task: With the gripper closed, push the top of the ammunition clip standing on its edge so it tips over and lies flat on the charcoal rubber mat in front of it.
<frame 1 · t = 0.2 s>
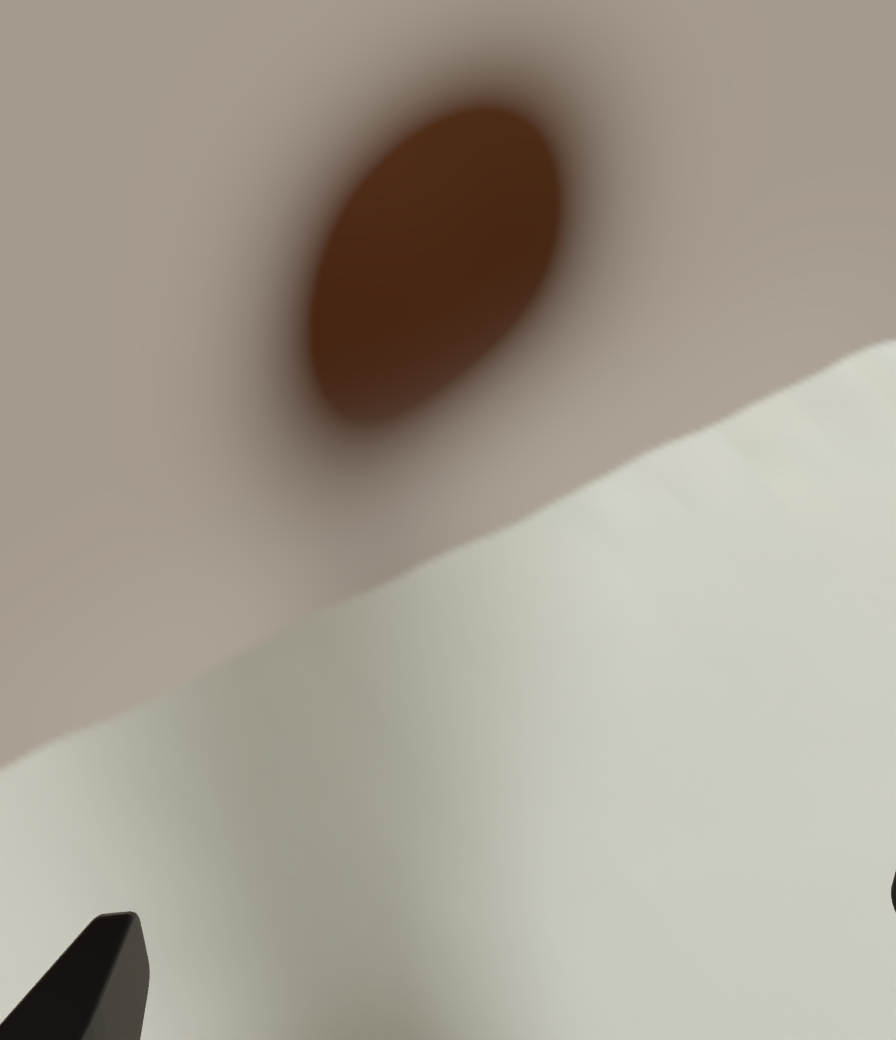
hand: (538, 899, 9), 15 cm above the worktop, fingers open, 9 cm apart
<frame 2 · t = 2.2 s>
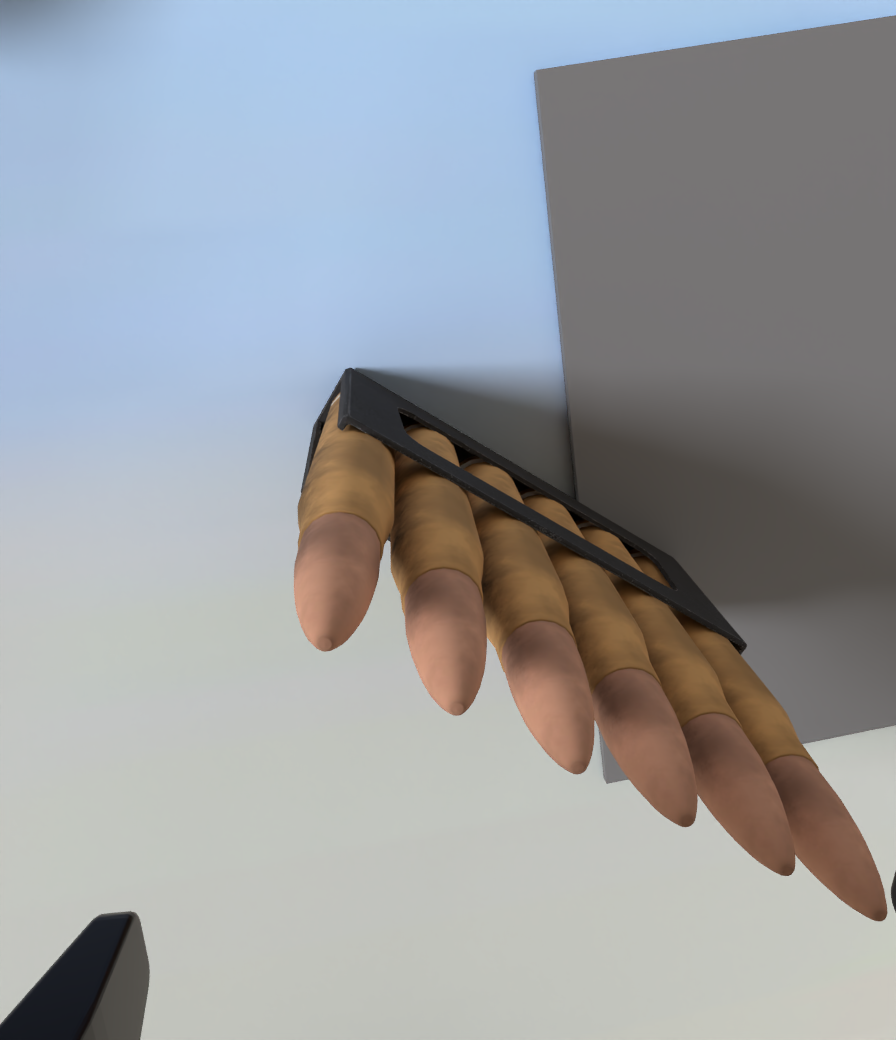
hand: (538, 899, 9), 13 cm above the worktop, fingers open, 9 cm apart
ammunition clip: (503, 495, 21), on the worktop, touching rubber mat
rubber mat: (818, 438, 22), on the worktop
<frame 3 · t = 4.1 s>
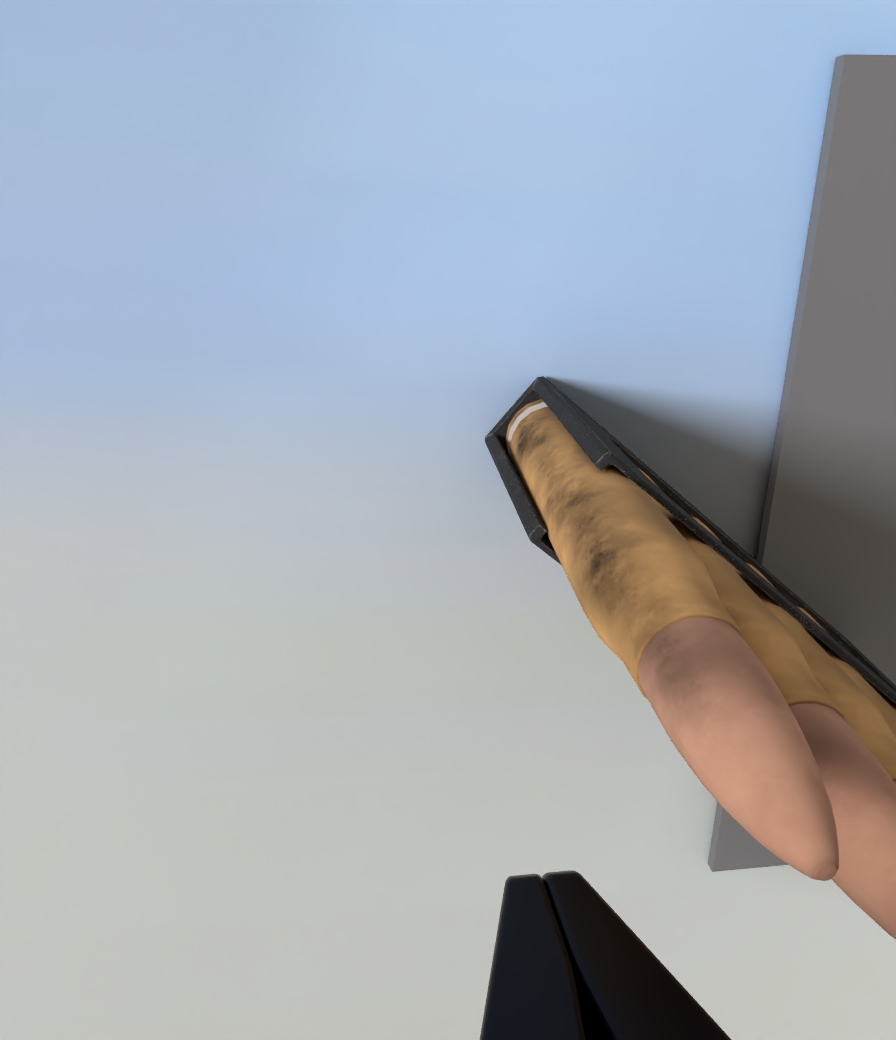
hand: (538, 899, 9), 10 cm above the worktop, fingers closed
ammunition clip: (678, 546, 18), on the worktop, touching rubber mat
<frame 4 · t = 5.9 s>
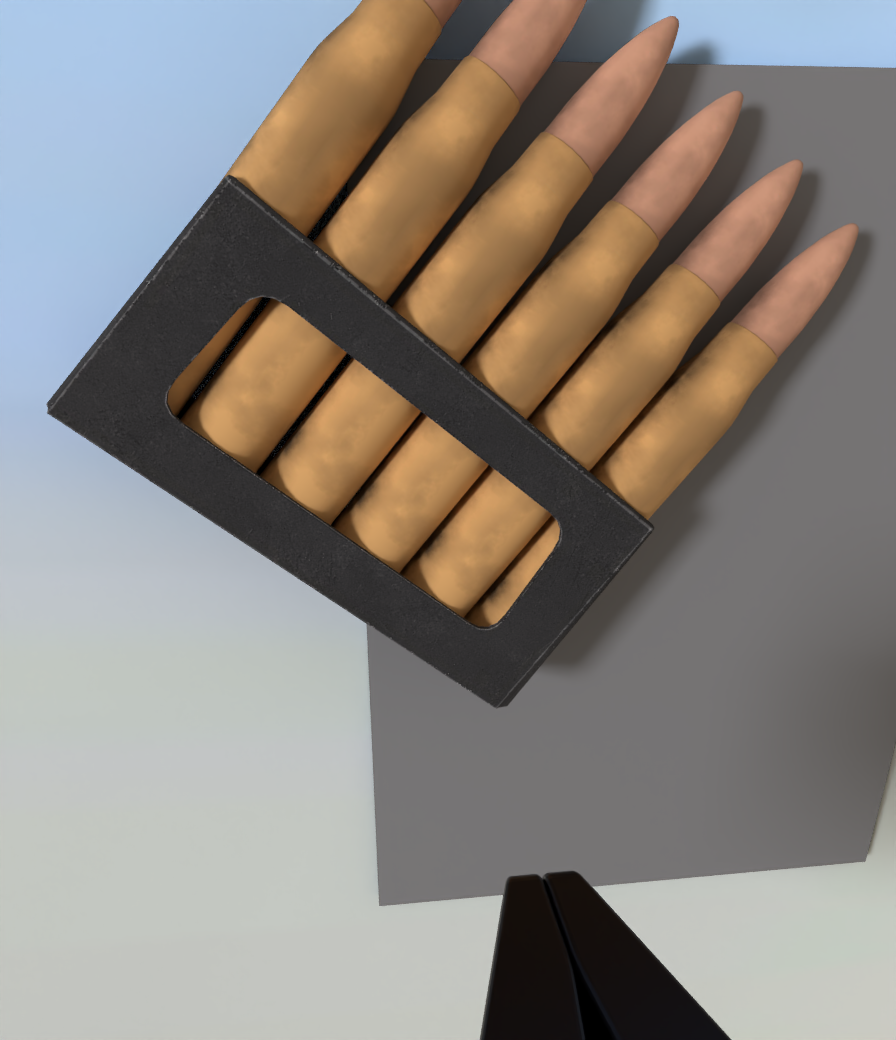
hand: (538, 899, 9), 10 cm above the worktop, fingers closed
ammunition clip: (294, 567, 16), point 1 cm above the worktop, touching rubber mat
rubber mat: (662, 551, 18), on the worktop
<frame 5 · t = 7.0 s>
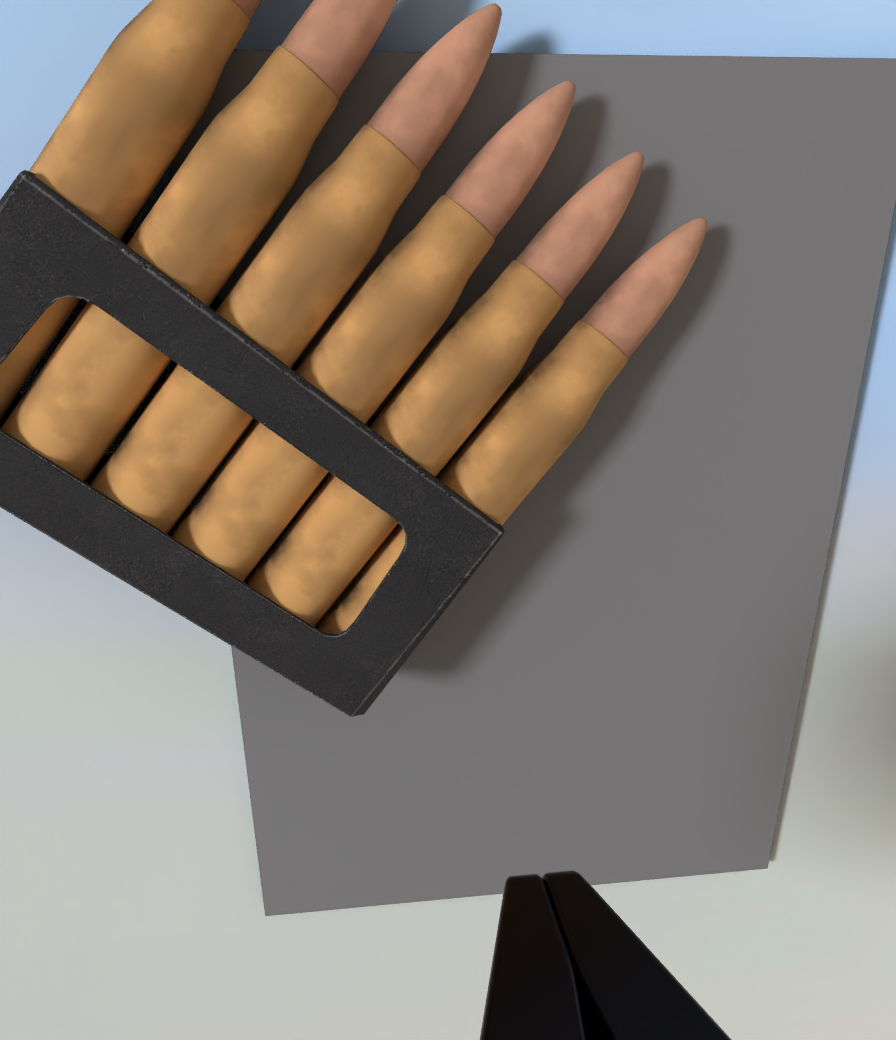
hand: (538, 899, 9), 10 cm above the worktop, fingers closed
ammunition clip: (137, 573, 16), point 1 cm above the worktop, touching rubber mat
rubber mat: (535, 555, 18), on the worktop
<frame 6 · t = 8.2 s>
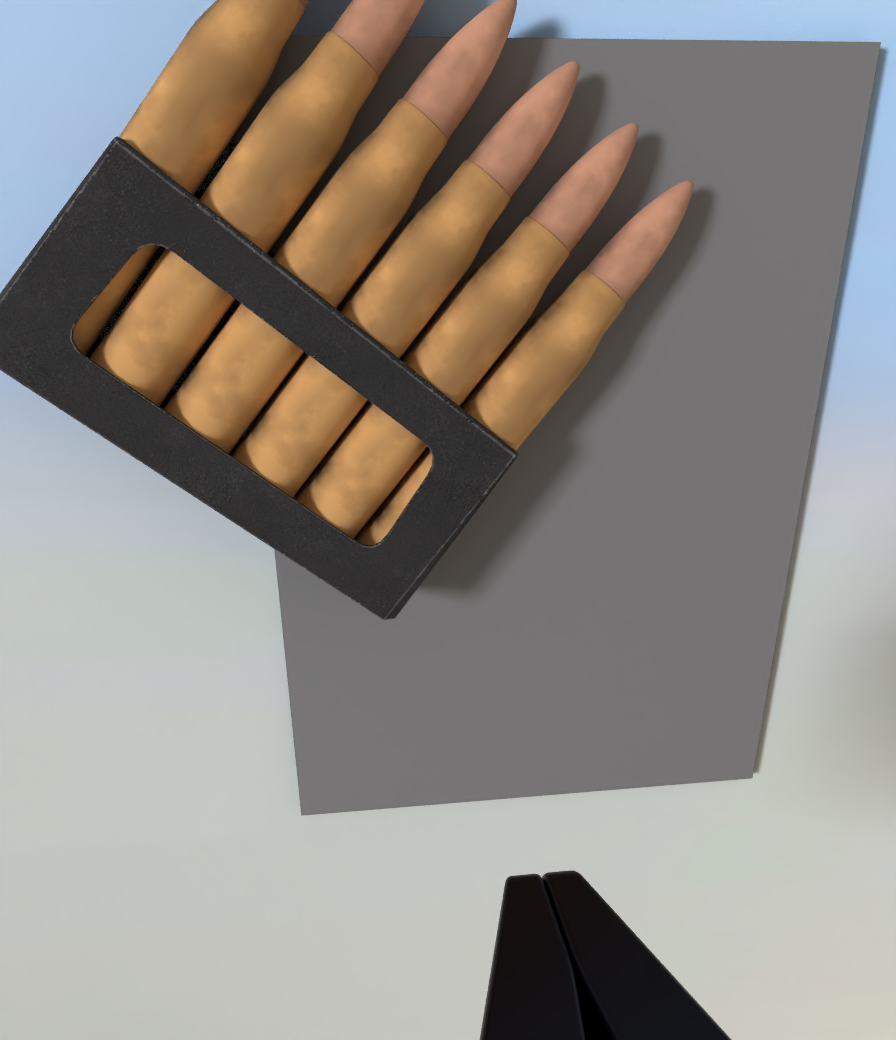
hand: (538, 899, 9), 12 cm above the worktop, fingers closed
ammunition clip: (199, 492, 18), point 1 cm above the worktop, touching rubber mat
rubber mat: (543, 484, 20), on the worktop
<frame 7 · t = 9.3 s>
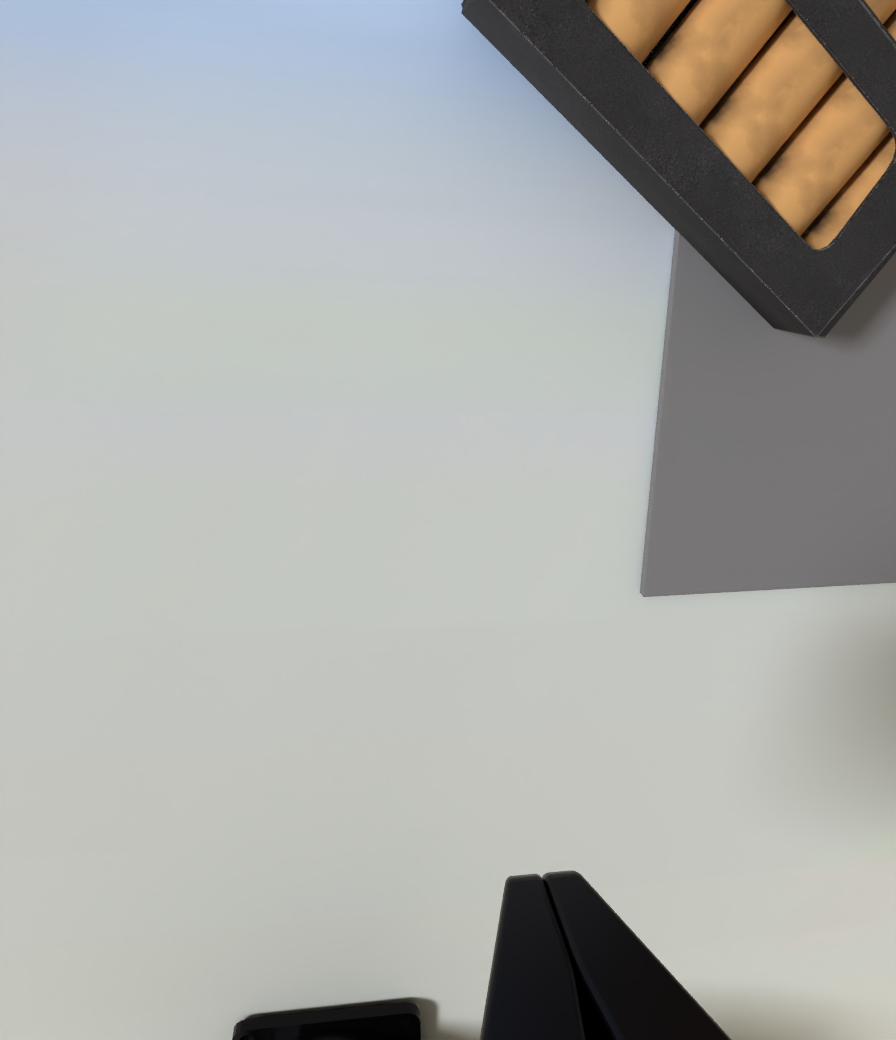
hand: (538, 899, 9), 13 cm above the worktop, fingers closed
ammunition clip: (642, 192, 17), point 1 cm above the worktop, touching rubber mat
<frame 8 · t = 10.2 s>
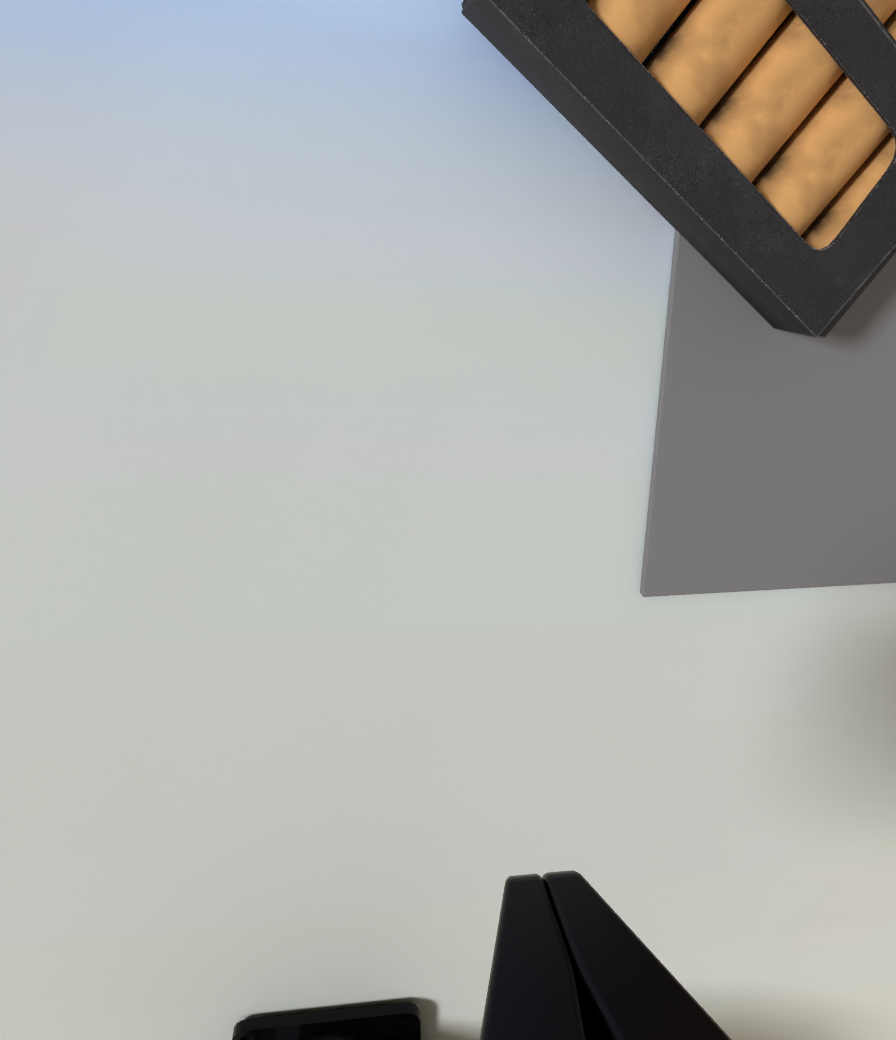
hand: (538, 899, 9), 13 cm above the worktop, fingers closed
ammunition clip: (642, 192, 17), point 1 cm above the worktop, touching rubber mat
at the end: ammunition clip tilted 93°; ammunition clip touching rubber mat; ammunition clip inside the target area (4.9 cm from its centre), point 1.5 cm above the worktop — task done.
